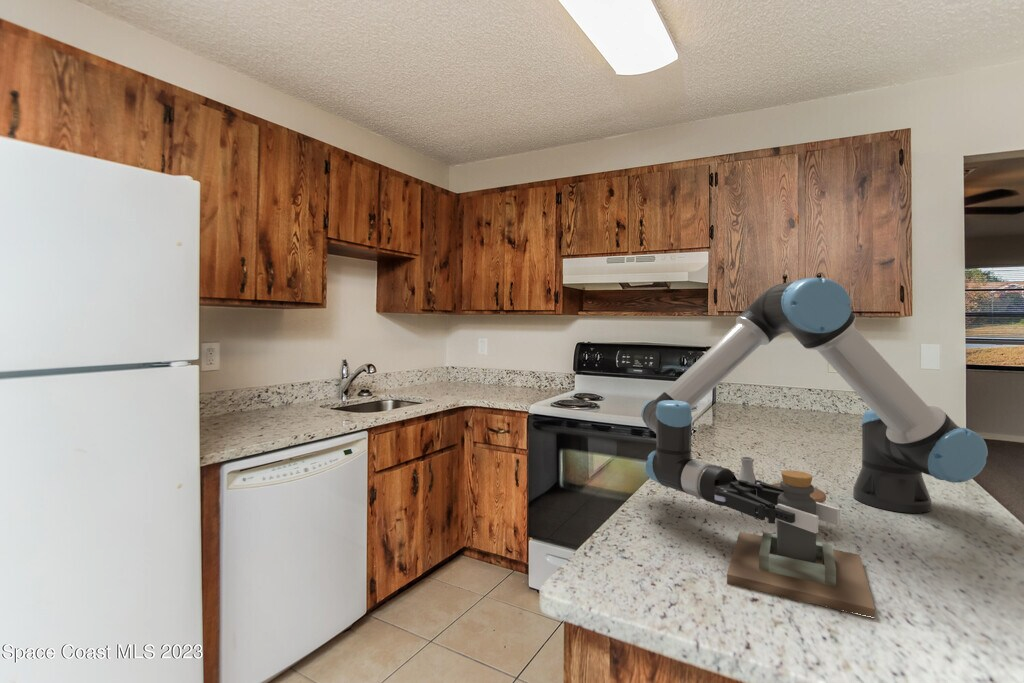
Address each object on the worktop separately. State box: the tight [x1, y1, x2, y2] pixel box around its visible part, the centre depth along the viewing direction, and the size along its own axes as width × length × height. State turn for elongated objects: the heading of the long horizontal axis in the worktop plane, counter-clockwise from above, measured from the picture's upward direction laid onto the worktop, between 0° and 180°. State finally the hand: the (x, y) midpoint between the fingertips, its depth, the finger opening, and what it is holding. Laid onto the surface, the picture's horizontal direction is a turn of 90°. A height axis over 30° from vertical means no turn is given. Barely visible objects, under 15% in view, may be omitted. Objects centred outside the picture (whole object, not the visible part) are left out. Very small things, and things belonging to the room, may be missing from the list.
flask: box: [737, 455, 757, 496], centre depth 123 cm, size 7×7×10 cm
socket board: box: [726, 531, 876, 618], centre depth 84 cm, size 20×20×4 cm
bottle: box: [776, 469, 817, 563], centre depth 84 cm, size 6×6×15 cm
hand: (827, 520), depth 79 cm, fingers closed on bottle, 6 cm apart
